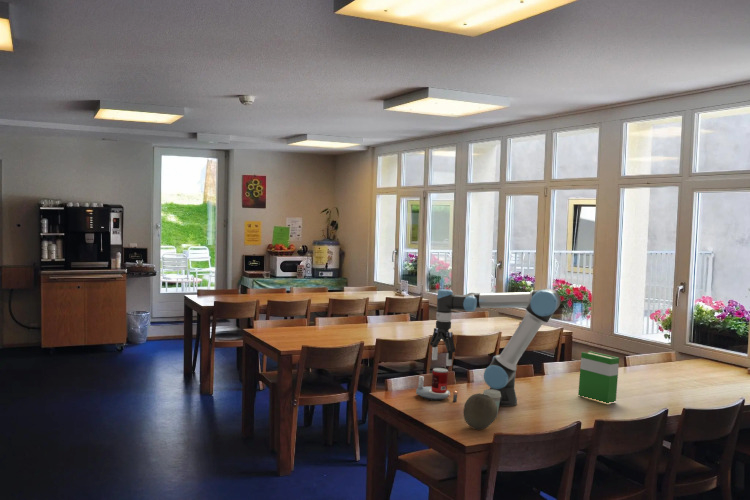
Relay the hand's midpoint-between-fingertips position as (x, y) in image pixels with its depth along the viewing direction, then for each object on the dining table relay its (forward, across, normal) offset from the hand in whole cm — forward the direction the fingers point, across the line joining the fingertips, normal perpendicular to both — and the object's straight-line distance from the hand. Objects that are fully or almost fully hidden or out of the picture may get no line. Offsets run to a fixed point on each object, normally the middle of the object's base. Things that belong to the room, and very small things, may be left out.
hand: (441, 362), depth 323 cm
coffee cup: (+19, +32, +8) cm, 38 cm away
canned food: (+15, -1, 0) cm, 15 cm away
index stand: (+18, 0, -1) cm, 18 cm away
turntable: (+16, -3, -2) cm, 17 cm away
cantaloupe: (+19, +45, -8) cm, 49 cm away
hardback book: (+20, +21, +84) cm, 89 cm away
